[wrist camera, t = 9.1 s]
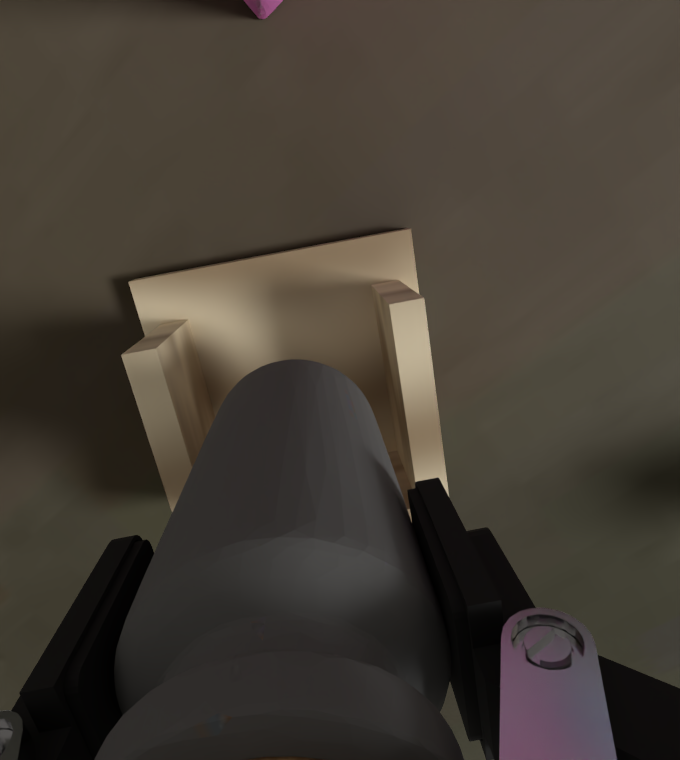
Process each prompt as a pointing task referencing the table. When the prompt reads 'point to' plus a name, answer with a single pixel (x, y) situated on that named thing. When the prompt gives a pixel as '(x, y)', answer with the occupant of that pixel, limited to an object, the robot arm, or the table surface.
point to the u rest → (288, 345)
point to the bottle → (286, 594)
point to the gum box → (262, 7)
